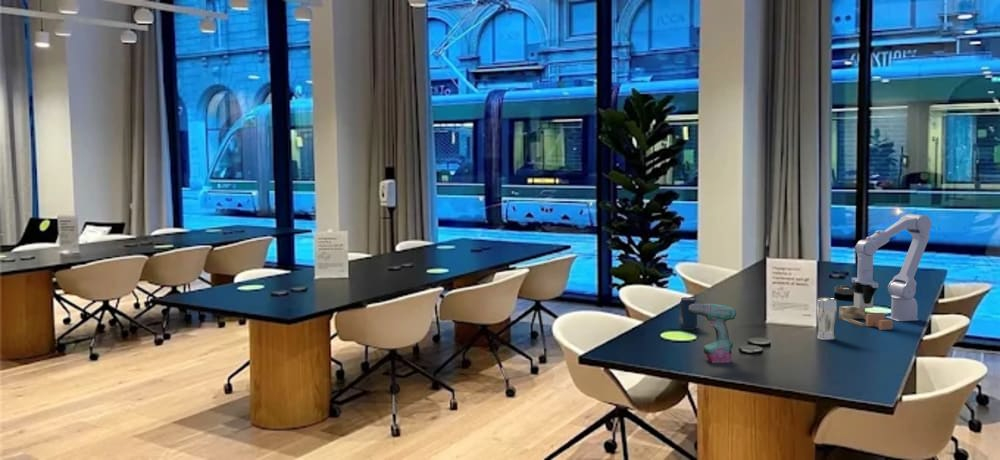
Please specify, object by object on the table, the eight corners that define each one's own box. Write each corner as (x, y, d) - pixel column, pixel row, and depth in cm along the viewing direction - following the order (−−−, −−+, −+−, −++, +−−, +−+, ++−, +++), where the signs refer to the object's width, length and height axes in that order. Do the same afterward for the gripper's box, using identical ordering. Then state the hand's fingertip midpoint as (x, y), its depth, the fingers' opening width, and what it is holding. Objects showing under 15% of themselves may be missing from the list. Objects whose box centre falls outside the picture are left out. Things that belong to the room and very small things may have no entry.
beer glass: (835, 336, 304) (836, 298, 302) (836, 341, 297) (837, 301, 296) (815, 335, 306) (816, 297, 305) (816, 339, 300) (817, 300, 298)
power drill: (685, 358, 277) (685, 302, 275) (731, 356, 278) (731, 300, 276) (692, 364, 269) (692, 306, 267) (739, 362, 271) (739, 304, 269)
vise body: (861, 316, 337) (861, 305, 337) (885, 324, 322) (885, 312, 322) (838, 318, 335) (839, 306, 335) (862, 326, 320) (862, 314, 320)
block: (866, 305, 329) (867, 291, 329) (873, 307, 325) (873, 293, 325) (853, 306, 328) (854, 292, 327) (859, 308, 324) (860, 294, 324)
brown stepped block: (882, 324, 322) (882, 312, 321) (895, 328, 314) (895, 316, 314) (865, 325, 320) (865, 313, 320) (878, 330, 313) (878, 317, 312)
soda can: (700, 327, 323) (700, 298, 322) (691, 330, 318) (691, 300, 317) (685, 325, 328) (685, 296, 327) (676, 328, 323) (676, 298, 322)
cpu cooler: (857, 289, 370) (833, 288, 374) (856, 301, 370) (833, 300, 375) (857, 285, 379) (834, 284, 383) (857, 297, 380) (834, 296, 384)
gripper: (845, 267, 332) (844, 299, 333) (867, 272, 317) (866, 306, 319) (860, 266, 333) (859, 298, 334) (883, 271, 319) (882, 305, 320)
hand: (864, 302), depth 327 cm, fingers closed on block, 4 cm apart
